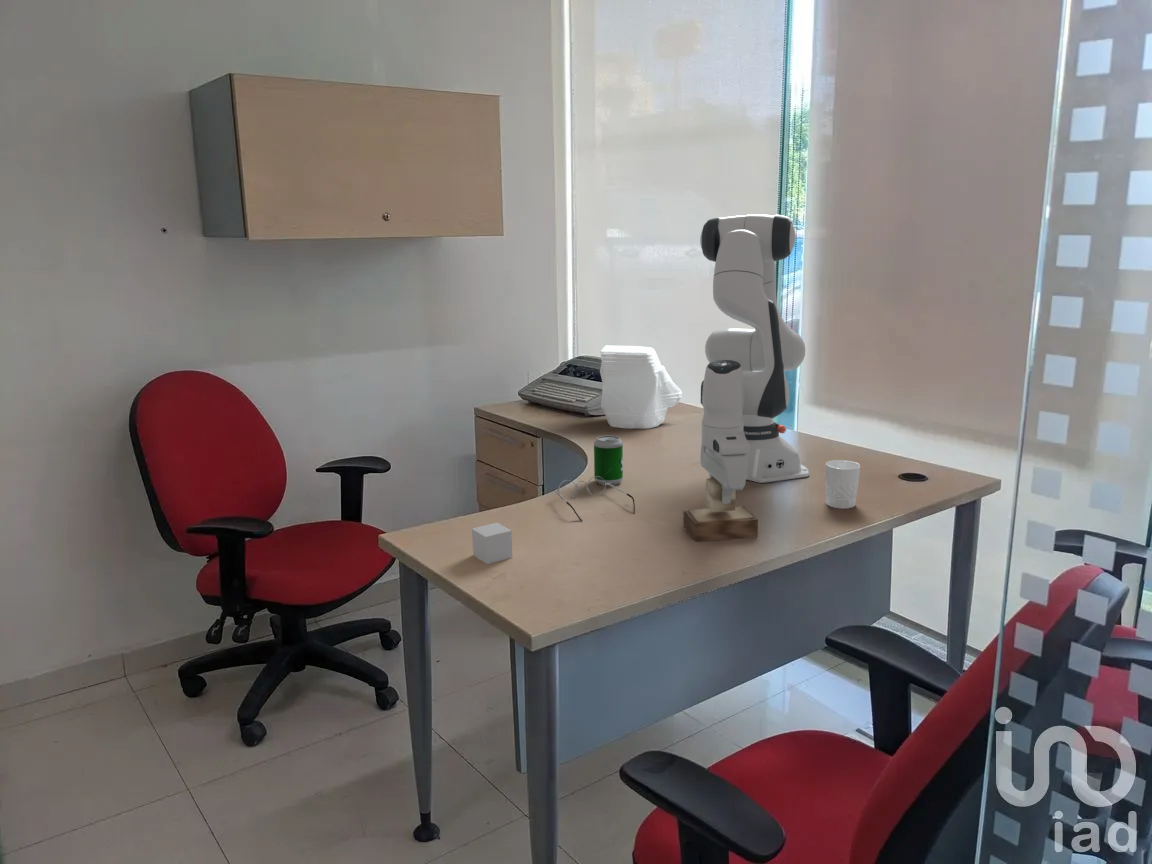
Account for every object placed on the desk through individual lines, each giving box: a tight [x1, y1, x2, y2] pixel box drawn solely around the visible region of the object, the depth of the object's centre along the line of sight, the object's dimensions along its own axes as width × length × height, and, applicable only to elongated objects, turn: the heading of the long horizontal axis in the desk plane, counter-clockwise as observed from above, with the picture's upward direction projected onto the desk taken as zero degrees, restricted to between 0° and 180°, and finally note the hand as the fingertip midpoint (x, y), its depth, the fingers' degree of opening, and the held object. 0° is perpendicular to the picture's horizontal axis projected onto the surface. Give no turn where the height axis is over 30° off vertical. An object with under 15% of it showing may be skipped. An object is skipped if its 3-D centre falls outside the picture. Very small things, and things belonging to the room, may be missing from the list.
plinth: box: [683, 505, 759, 543], centre depth 188 cm, size 14×9×4 cm, turn 99°
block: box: [705, 477, 737, 512], centre depth 186 cm, size 5×5×6 cm
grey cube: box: [471, 522, 513, 565], centre depth 176 cm, size 6×6×6 cm
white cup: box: [824, 459, 861, 510], centre depth 204 cm, size 8×8×10 cm
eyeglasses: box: [554, 476, 636, 523], centre depth 206 cm, size 16×19×5 cm
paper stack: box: [599, 344, 683, 430], centre depth 283 cm, size 21×27×26 cm
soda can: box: [593, 435, 624, 487], centre depth 224 cm, size 8×8×12 cm
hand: (720, 498), depth 186 cm, fingers closed on block, 5 cm apart
